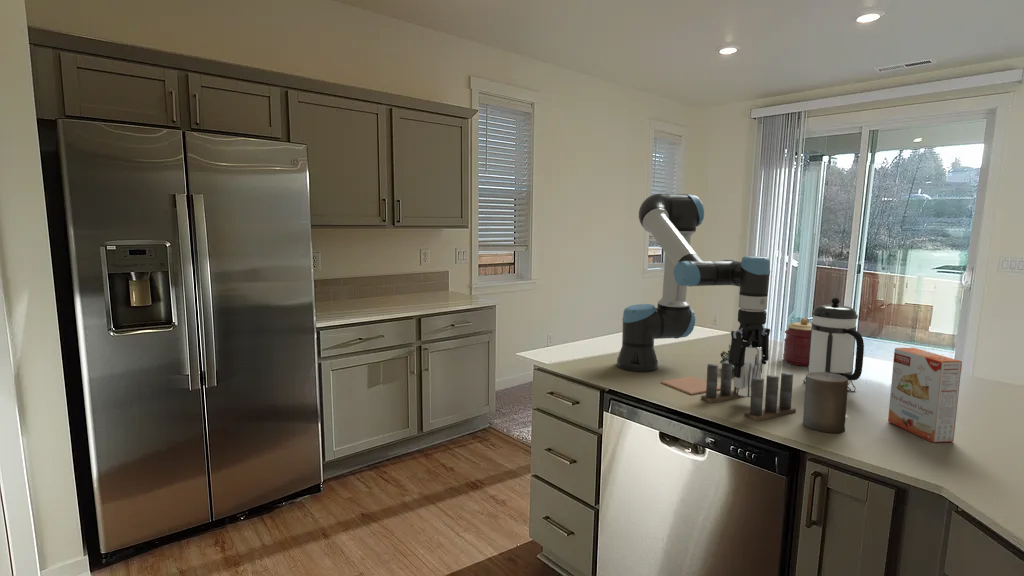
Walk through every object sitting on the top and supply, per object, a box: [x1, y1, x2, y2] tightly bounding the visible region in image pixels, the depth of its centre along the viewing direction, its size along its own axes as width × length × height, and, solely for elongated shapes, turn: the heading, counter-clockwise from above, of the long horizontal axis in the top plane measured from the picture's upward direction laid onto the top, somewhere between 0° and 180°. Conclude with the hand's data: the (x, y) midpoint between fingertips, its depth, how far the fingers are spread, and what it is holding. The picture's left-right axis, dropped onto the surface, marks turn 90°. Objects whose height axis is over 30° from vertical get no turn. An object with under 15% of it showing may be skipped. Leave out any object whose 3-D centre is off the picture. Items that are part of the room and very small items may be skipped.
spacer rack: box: [700, 361, 797, 422], centre depth 152 cm, size 20×16×11 cm
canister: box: [782, 318, 812, 367], centre depth 201 cm, size 13×13×18 cm
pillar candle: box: [802, 372, 849, 434], centre depth 136 cm, size 10×10×15 cm
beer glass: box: [736, 344, 762, 398], centre depth 152 cm, size 7×7×15 cm
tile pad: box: [660, 375, 721, 396], centre depth 171 cm, size 14×14×1 cm
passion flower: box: [719, 344, 734, 369], centre depth 189 cm, size 11×11×12 cm
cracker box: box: [887, 347, 963, 443], centre depth 132 cm, size 14×6×21 cm, turn 5°
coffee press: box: [802, 297, 865, 392], centre depth 168 cm, size 17×16×30 cm
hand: (747, 385), depth 152 cm, fingers closed on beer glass, 6 cm apart
